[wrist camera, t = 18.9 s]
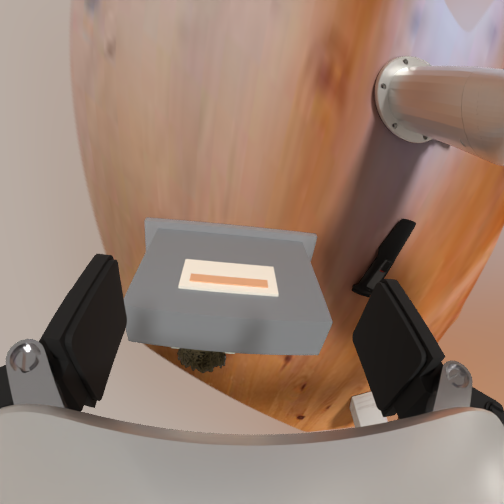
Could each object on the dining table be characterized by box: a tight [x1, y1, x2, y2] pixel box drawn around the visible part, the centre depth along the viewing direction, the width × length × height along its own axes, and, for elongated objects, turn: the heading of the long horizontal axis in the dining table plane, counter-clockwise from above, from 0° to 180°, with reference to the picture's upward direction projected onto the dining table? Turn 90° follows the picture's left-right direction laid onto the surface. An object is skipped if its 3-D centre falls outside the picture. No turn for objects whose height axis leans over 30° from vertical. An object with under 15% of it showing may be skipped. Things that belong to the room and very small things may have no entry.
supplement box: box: [350, 392, 388, 428], centre depth 62 cm, size 7×7×13 cm
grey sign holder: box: [124, 218, 333, 355], centre depth 34 cm, size 24×7×17 cm, turn 82°
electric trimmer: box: [352, 219, 416, 297], centre depth 42 cm, size 4×16×3 cm, turn 157°
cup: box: [177, 348, 226, 373], centre depth 44 cm, size 8×7×8 cm
